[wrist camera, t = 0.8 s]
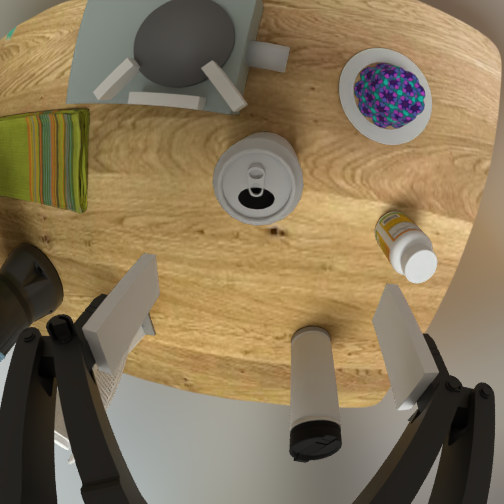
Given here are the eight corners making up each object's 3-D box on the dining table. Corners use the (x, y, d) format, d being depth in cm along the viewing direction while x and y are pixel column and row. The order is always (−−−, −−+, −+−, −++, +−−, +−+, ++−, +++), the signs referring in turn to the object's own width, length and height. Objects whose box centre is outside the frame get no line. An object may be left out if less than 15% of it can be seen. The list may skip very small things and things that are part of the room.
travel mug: (282, 346, 45) (277, 458, 27) (305, 319, 42) (310, 440, 24) (314, 358, 46) (318, 465, 28) (337, 334, 43) (353, 447, 25)
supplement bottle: (400, 253, 35) (427, 293, 27) (367, 241, 35) (390, 283, 27) (416, 217, 33) (451, 252, 24) (383, 204, 33) (413, 236, 24)
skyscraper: (157, 339, 48) (96, 477, 23) (120, 334, 49) (52, 456, 24) (145, 302, 44) (61, 450, 19) (106, 298, 45) (18, 425, 20)
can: (232, 192, 34) (209, 231, 24) (232, 130, 31) (206, 139, 20) (295, 195, 34) (301, 236, 23) (298, 132, 30) (307, 142, 20)
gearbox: (93, 101, 30) (52, 105, 22) (113, 8, 23) (76, -7, 16) (274, 121, 30) (271, 123, 22) (298, 14, 23) (302, -15, 16)
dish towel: (91, 210, 38) (79, 218, 35) (-21, 191, 38) (-31, 196, 35) (93, 107, 31) (79, 108, 28) (-25, 122, 31) (-36, 125, 28)
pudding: (326, 124, 30) (334, 126, 25) (349, 34, 24) (360, 22, 19) (415, 158, 30) (434, 166, 25) (437, 74, 24) (458, 70, 19)
